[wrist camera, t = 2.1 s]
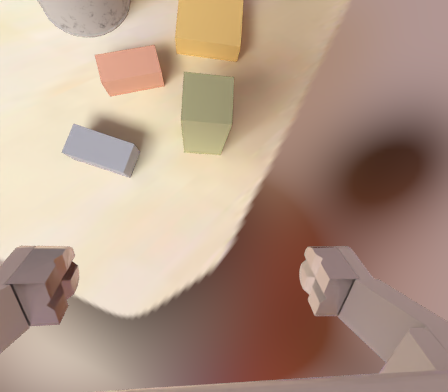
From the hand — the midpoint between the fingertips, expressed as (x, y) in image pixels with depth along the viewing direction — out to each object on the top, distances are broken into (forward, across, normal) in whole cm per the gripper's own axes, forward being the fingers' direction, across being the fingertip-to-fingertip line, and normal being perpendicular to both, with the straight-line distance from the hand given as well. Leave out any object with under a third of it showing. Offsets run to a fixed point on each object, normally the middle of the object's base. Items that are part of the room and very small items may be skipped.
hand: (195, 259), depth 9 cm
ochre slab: (+30, -2, -8) cm, 31 cm away
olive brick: (+22, -1, +3) cm, 22 cm away
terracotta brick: (+26, +7, -2) cm, 27 cm away
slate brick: (+21, +9, +5) cm, 23 cm away
